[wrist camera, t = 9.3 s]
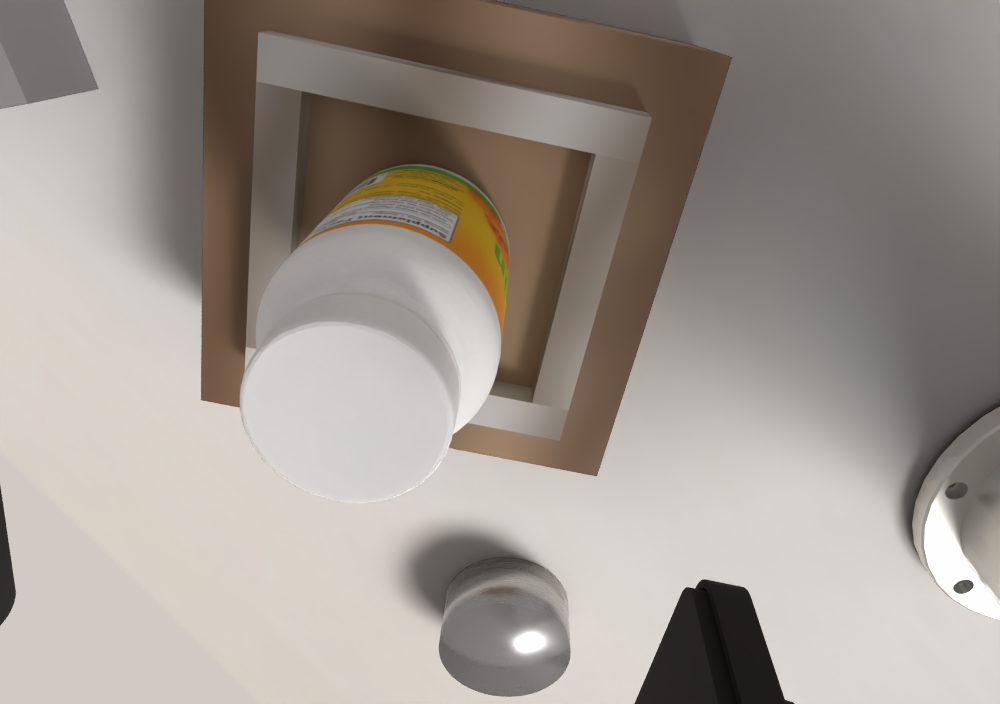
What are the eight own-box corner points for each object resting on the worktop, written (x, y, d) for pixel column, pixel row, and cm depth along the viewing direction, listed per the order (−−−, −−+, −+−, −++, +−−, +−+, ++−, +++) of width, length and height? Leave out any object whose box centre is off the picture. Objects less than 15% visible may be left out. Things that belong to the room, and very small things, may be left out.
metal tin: (581, 567, 34) (584, 617, 31) (552, 653, 37) (553, 705, 34) (457, 545, 34) (450, 593, 31) (437, 633, 36) (430, 684, 34)
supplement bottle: (495, 342, 23) (470, 553, 14) (330, 314, 23) (202, 511, 14) (525, 177, 21) (516, 310, 12) (340, 145, 20) (193, 256, 12)
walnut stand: (694, 45, 23) (742, 60, 18) (587, 403, 30) (598, 493, 24) (270, -50, 23) (187, -64, 17) (253, 337, 29) (188, 415, 24)
